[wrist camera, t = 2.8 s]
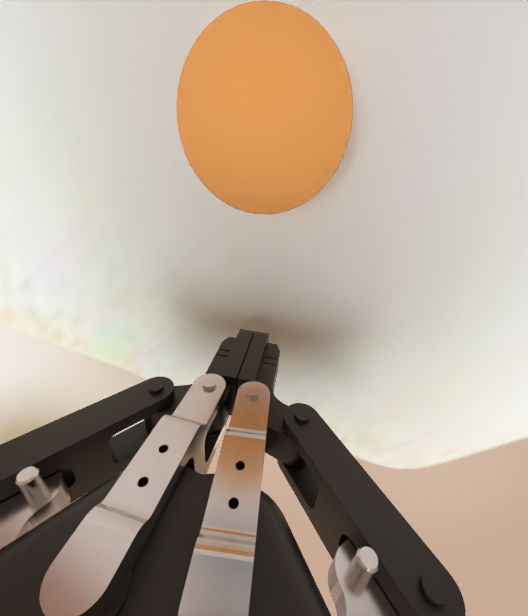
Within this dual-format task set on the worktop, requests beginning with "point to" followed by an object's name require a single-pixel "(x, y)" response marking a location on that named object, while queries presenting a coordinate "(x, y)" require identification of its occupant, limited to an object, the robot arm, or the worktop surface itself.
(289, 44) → the ball
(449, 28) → the worktop surface
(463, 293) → the worktop surface
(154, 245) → the worktop surface
